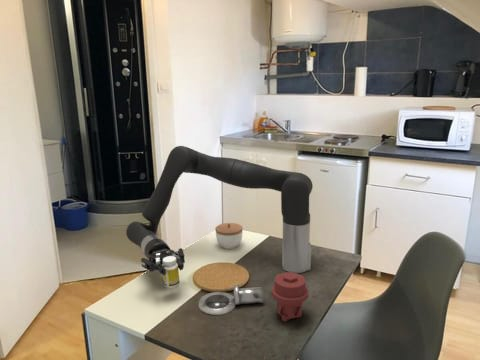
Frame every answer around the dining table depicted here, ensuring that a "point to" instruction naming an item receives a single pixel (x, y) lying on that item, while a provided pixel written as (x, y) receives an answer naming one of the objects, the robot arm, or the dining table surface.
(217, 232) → the lidded jar
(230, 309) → the flange fitting
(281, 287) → the mechanical component
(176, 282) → the supplement bottle
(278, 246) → the dining table surface
